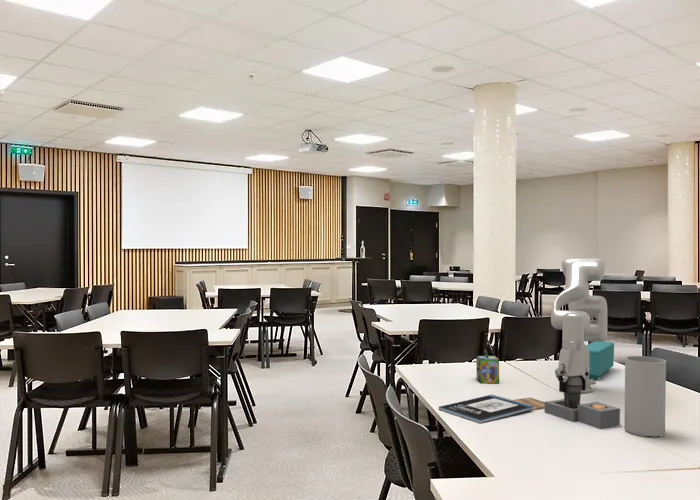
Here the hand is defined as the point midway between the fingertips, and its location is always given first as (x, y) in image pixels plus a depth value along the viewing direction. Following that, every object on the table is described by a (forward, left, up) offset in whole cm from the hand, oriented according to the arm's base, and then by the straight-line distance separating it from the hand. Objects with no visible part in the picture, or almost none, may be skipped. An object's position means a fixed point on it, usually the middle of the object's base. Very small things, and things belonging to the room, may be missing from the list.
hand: (572, 391), depth 221 cm
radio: (-69, -48, -9) cm, 85 cm away
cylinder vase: (-6, +26, -9) cm, 28 cm away
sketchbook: (+26, -18, -9) cm, 33 cm away
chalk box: (-8, -58, -9) cm, 59 cm away
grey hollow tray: (0, +5, -9) cm, 10 cm away
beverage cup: (0, 0, -9) cm, 9 cm away
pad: (+4, -18, -9) cm, 21 cm away
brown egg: (0, +12, -7) cm, 14 cm away
